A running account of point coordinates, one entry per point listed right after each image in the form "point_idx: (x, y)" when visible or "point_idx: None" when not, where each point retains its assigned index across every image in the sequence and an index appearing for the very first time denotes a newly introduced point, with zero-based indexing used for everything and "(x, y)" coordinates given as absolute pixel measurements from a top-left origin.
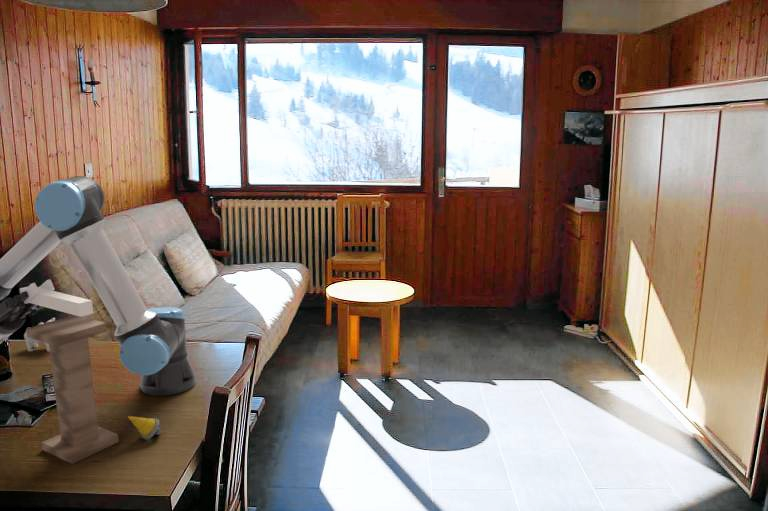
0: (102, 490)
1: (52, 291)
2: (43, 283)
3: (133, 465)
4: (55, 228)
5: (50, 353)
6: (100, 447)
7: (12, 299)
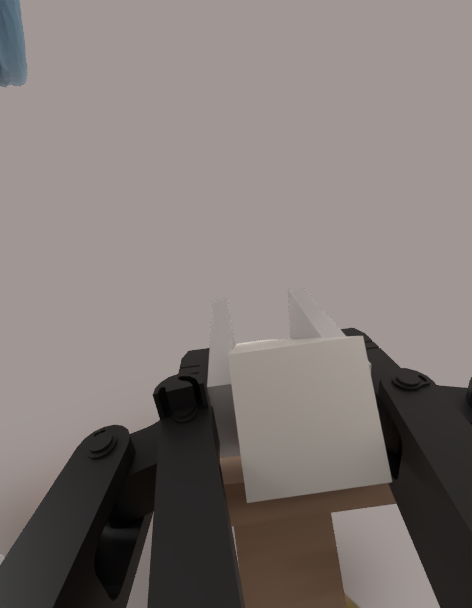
0: (347, 603)
1: (241, 345)
2: (229, 317)
3: None
4: (20, 14)
5: (336, 552)
6: None
7: (453, 392)
